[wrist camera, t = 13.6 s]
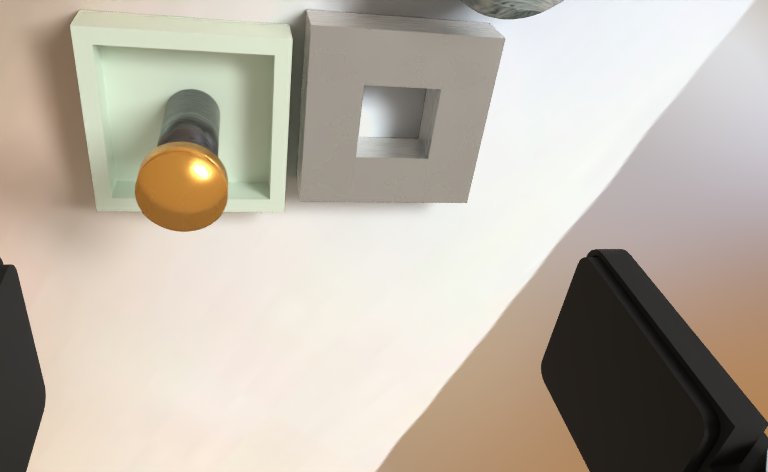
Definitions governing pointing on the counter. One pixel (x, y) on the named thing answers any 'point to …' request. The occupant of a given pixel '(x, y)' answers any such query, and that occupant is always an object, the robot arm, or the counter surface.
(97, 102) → the tray
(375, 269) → the counter surface
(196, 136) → the pin
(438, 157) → the grey slotted block
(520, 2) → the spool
